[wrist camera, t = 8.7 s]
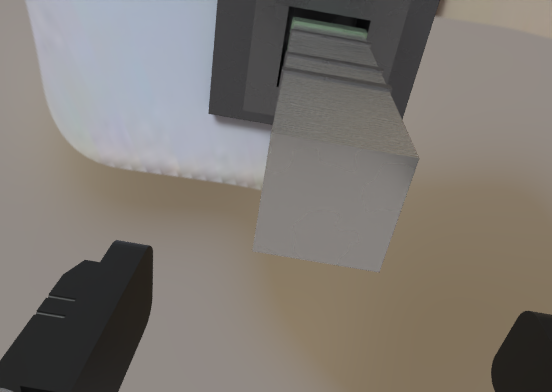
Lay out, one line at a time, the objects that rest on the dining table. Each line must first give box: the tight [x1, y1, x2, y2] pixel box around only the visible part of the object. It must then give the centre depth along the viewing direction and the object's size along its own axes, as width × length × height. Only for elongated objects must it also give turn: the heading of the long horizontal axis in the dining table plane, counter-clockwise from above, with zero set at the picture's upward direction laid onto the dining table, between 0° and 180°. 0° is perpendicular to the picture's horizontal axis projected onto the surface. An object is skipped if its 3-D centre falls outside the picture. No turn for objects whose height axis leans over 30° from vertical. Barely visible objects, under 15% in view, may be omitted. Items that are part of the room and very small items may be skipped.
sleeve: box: [209, 0, 440, 125], centre depth 32 cm, size 16×16×8 cm
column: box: [253, 17, 419, 272], centre depth 21 cm, size 4×4×18 cm
